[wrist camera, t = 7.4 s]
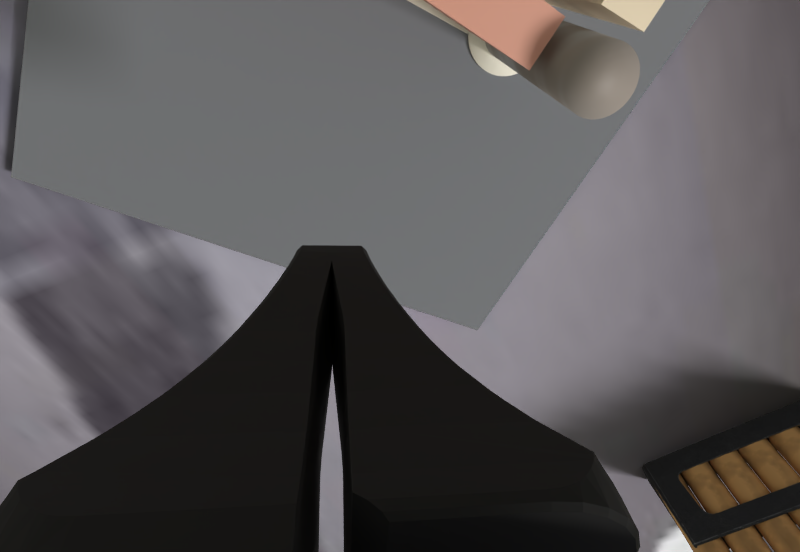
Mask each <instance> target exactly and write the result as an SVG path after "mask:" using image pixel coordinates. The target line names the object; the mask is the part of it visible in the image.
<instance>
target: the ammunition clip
mask: <svg viewBox="0 0 800 552" xmlns="http://www.w3.org/2000/svg"><path fill="white" fill-rule="evenodd" d="M777 450H778V451H779V452H780V453H781V455H782V456H783V457H784V458H785V459H786V460H787V461H788V462H789V464H790V465H791V466H792V467H793V468H794V469H795V470H796V471H797V473H798V474H799V475H800V401H799V402H796V403H794V404H791V405H789V406H786V407H784V408H782V409H779V410H777V411H774V412H772V413H769V414H767V415H764V416H762V417H759V418H757V419H755V420H752V421H750V422H747V423H745V424H742V425H740V426H737V427H735V428H732V429H730V430H727V431H725V432H723V433H720V434H718V435H715V436H713V437H710V438H708V439H705V440H703V441H700V442H698V443H695V444H693V445H691V446H688V447H686V448H683V449H681V450H678V451H676V452H673V453H671V454H668V455H666V456H663V457H661V458H659V459H656V460H654V461H651V462H649V463H646V464H644V467H643V471H644V473H645V475H646V477H647V479H648V481H649V483H650V484H651V486H652V487H653V489H654V490H655V492H656V493H657V495H658V496H659V498H660V499H661V501H662V503H663V504H664V506H665V507H666V509H667V510H668V512H669V513H670V515H671V516H672V518H673V519H674V521H675V522H676V524H677V525H678V527H679V528H680V530H681V532H682V533H683V535H684V537H685V538H686V540H687V542H688V543H689V545H690V547H691V548H692V550H693V552H730V550H729V549H730V548H731V550H732V551H733V552H772V551H771V549H770V548H769V547H768V545H767V544H766V542H765V541H764V540H763V538H762V537H764V538H765V539H766V541H767V542H768V543H769V545H770V546H771V547H772V549H773V550H774V552H800V530H799V529H798V527H797V526H796V524H797V525H798V526H799V527H800V477H799V475H798V474H797V473H796V472H795V471H794V470H793V469H792V467H791V466H790V465H789V464H788V463H787V462H786V460H785V459H784V458H783V457H782V456H781V455H780V454H779V452H778V451H777ZM746 462H747V463H748V464H749V465H748V464H747V463H746ZM750 467H751V468H752V469H753V470H754V472H755V473H756V474H757V475H758V477H759V478H760V479H761V480H762V482H763V483H764V484H765V485H766V487H767V488H768V489H769V490H770V492H771V493H770V492H769V491H768V489H767V488H766V487H765V486H764V484H763V483H762V482H761V480H760V479H759V478H758V477H757V475H756V474H755V473H754V472H753V470H752V469H751V468H750ZM717 474H718V475H719V477H720V478H721V479H722V481H723V482H724V483H725V485H726V486H727V487H728V489H729V490H730V492H731V493H732V494H733V496H734V497H735V498H736V500H737V501H738V502H739V504H740V505H738V503H737V502H736V501H735V499H734V498H733V496H732V495H731V494H730V492H729V491H728V489H727V488H726V487H725V485H724V484H723V482H722V481H721V480H720V478H719V477H718V475H717ZM688 485H689V487H690V488H691V490H692V491H693V493H694V494H695V496H696V497H697V499H698V500H699V502H700V503H701V505H702V506H703V508H704V509H705V511H706V512H705V511H704V510H703V508H702V507H701V505H700V504H699V502H698V501H697V499H696V498H695V496H694V494H693V493H692V491H691V490H690V488H689V487H688Z"/></svg>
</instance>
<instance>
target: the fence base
mask: <svg viewBox="0 0 800 552" xmlns="http://www.w3.org/2000/svg"><path fill="white" fill-rule="evenodd" d="M544 1H545V2H547V3H548V4H549V5H552V6H555V7H559V8H562V9H566V10H569V11H573V12H576V13H580V14H583V15H587V16H590V17H594V18H597V19H601V20H604V21H607V22H611V23H614V24H618V25H621V26H625V27H628V28H632V29H635V30H639V31H642V32H644V31H645V30H646V28H647V27H648V25H649V24H650V22H651V21H652V19H653V18H654V16H655V15H656V13H657V12H658V10H659V9H660V7H661V6H662V4H663V3H664V1H665V0H544ZM485 44H486V47H487V49H488V51H489V52H490V53H491V54H492V55H493V56H494V57H495V58H497V59H498V60H500V61H501V62H503V63H504V64H505V65H507V66H508V67H510V68H511V69H512V70H514V71H515V72H517V73H518V74H520V75H521V76H522V77H524V78H525V79H527V80H528V81H529V82H531V83H532V84H534V85H535V86H537V87H538V88H539V89H541V90H542V91H544V92H545V93H546V94H548V95H549V96H551V97H552V98H554V99H555V100H556V101H558V102H559V103H561V104H562V105H563V106H565V107H566V108H568V109H569V110H571V111H572V112H573V113H575V114H576V115H578V116H580V117H582V118H585V119H591V120H593V119H601V118H605V117H607V116H610V115H612V114H613V113H615V112H616V111H618V110H619V109H620V108H622V107H623V106H624V105H625V104H626V103H627V101H628V100H629V99H630V97H631V96H632V94H633V93H634V91H635V89H636V86H637V84H638V80H639V75H640V63H639V59H638V56H637V54H636V52H635V50H634V49H633V48H632V47H631V46H630V45H629V44H628V43H626V42H624V41H622V40H619V39H616V38H613V37H610V36H607V35H604V34H601V33H598V32H595V31H592V30H589V29H586V28H583V27H581V26H578V25H575V24H572V23H569V22H566V21H562V22H561V24H560V25H559V27H558V28H557V30H556V31H555V33H554V34H553V36H552V37H551V39H550V40H549V42H548V43H547V45H546V46H545V48H544V49H543V51H542V52H541V54H540V55H539V57H538V58H537V60H536V61H535V63H534V64H533V66H532V67H531V69H530V70H528V69H526V68H525V67H523V66H522V65H520V64H519V63H517V62H515V61H514V60H512V59H511V58H509V57H508V56H506V55H505V54H503V53H502V52H500V51H499V50H497V49H496V48H494V47H492V46H491V45H489V44H488V43H486V42H485Z"/></svg>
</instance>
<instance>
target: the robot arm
mask: <svg viewBox="0 0 800 552" xmlns="http://www.w3.org/2000/svg"><path fill="white" fill-rule="evenodd" d="M332 365H333V375H334V384H335V394H336V403H337V413H338V422H339V432H340V441H341V451H342V465H343V505H344V552H638V550H639V548H640V541H639V531H638V529H637V527H636V525H635V524H634V522H633V520H632V518H631V516H630V514H629V512H628V510H627V508H626V506H625V504H624V502H623V500H622V498H621V496H620V494H619V493H618V491H617V489H616V487H615V486H614V484H613V482H612V481H611V479H610V478H609V476H608V474H607V473H606V471H605V470H604V468H603V467H602V465H601V464H600V462H599V461H598V459H597V457H596V455H595V454H594V452H592V451H590V450H588V449H587V448H585V447H583V446H581V445H579V444H578V443H576V442H574V441H572V440H570V439H569V438H567V437H565V436H563V435H561V434H559V433H558V432H556V431H554V430H552V429H550V428H549V427H547V426H545V425H543V424H541V423H539V422H538V421H536V420H534V419H533V418H531V417H529V416H528V415H526V414H525V413H523V412H522V411H520V410H519V409H517V408H515V407H514V406H512V405H511V404H509V403H508V402H506V401H505V400H503V399H502V398H500V397H499V396H497V395H496V394H495V393H493V392H492V391H490V390H489V389H487V388H486V387H485V386H484V385H482V384H481V383H480V382H478V381H477V380H476V379H475V378H473V377H472V376H471V375H469V374H468V373H467V372H466V371H464V370H463V369H462V368H460V367H459V366H458V365H457V364H456V363H455V362H453V361H452V360H451V359H450V358H449V357H448V356H447V355H446V354H445V353H444V352H443V351H441V350H440V349H439V348H438V347H437V346H436V345H435V344H434V343H433V342H432V341H431V340H430V339H429V338H428V337H427V336H426V334H425V333H424V332H423V331H422V330H421V329H420V328H419V327H418V326H417V324H416V323H415V322H414V321H413V320H412V319H411V317H410V316H409V315H408V314H407V313H406V311H405V310H404V309H403V308H402V306H401V305H400V304H399V302H398V301H397V300H396V298H395V297H394V295H393V294H392V293H391V291H390V290H389V289H388V287H387V286H386V284H385V283H384V281H383V280H382V278H381V276H380V275H379V273H378V272H377V270H376V268H375V267H374V265H373V263H372V261H371V259H370V257H369V255H368V253H367V251H366V250H365V249H364V248H363V247H362V246H336V245H302V246H301V247H300V248H299V249H298V250H297V251H296V253H295V255H294V257H293V259H292V260H291V262H290V264H289V265H288V267H287V268H286V270H285V271H284V273H283V274H282V276H281V277H280V279H279V280H278V282H277V283H276V284H275V286H274V287H273V288H272V290H271V291H270V292H269V294H268V295H267V296H266V298H265V299H264V300H263V301H262V303H261V304H260V305H259V306H258V307H257V309H256V310H255V311H254V312H253V313H252V314H251V315H250V317H249V318H248V319H247V320H246V321H245V322H244V323H243V325H242V326H241V327H240V328H239V329H238V330H237V331H236V332H235V333H234V334H233V335H232V336H231V337H230V338H229V339H228V340H227V341H226V342H225V343H224V344H223V345H222V346H221V347H220V348H219V349H218V350H217V351H216V352H214V353H213V354H212V355H211V356H210V357H209V358H208V359H207V360H206V361H204V362H203V363H202V364H201V365H200V366H198V367H197V368H196V369H195V370H194V371H192V372H191V373H190V374H189V375H188V376H186V377H185V378H184V379H182V380H181V381H180V382H179V383H177V384H176V385H175V386H173V387H172V388H171V389H170V390H168V391H167V392H166V393H164V394H163V395H161V396H160V397H159V398H157V399H156V400H154V401H153V402H151V403H150V404H148V405H147V406H145V407H144V408H142V409H141V410H140V411H138V412H136V413H135V414H133V415H132V416H130V417H129V418H127V419H125V420H124V421H122V422H121V423H119V424H118V425H116V426H114V427H113V428H111V429H110V430H108V431H106V432H105V433H103V434H101V435H100V436H98V437H96V438H95V439H93V440H91V441H89V442H88V443H86V444H84V445H82V446H80V447H79V448H77V449H75V450H73V451H71V452H70V453H68V454H66V455H64V456H62V457H61V458H59V459H57V460H55V461H53V462H52V463H50V464H48V465H46V466H44V467H43V468H41V469H39V470H37V471H35V472H33V473H31V474H30V475H28V476H26V477H24V478H22V479H20V480H18V481H17V483H16V484H15V485H14V487H13V488H12V490H11V491H10V493H9V494H8V496H7V497H6V498H5V500H4V501H3V502H2V504H1V505H0V552H318V549H319V501H320V471H321V457H322V448H323V440H324V431H325V423H326V414H327V406H328V397H329V388H330V380H331V371H332Z"/></svg>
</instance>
